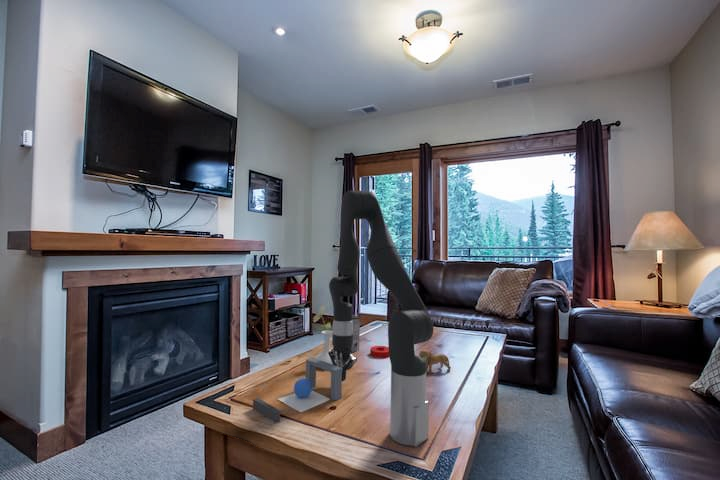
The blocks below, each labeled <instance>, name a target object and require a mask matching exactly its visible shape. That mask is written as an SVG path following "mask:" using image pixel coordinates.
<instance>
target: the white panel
mask: <svg viewBox="0 0 720 480" xmlns="http://www.w3.org/2000/svg"><path fill="white" fill-rule="evenodd" d="M330 400H331V398H329V397H326V396H324V395H322V394H321V393H319V392H316V391H314V390H312V391H311V393H310V395H309V396H307V397H305V398H300V397H298V396H297V395H296V394H295V392H293V393H290V394H288V395H285V396H282V397H279V398H277V401H279V402H281V403H282V402H283V403H282V404H284V405H286V406H288V407H290V408H291V409H293V410H295V411H297V412H299V413H303V412H305V411H308V410H310V409H313V408H315V407H317V406H320V405H322V404H325V403H326V402H328V401H330Z"/></svg>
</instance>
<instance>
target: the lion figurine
mask: <svg viewBox="0 0 720 480" xmlns="http://www.w3.org/2000/svg"><path fill="white" fill-rule="evenodd" d="M418 356H419V357H422V358H423V359H424V360H425V361H426V372H428V373H429V374H431V373H432V369H433V368H432V367H433V365H438V364H440V367H437V370H442V368H443V367H444V366H445V367H446V368H447V369H446V372H448V373H450V372H451V369H452V367H451V366H450V361H449V360H450V359H449V358H448V356H447V355H446V354H443V353H440V354H433V353H432V352H430V351H428V350H427V349H421V350H420V351H419V353H418Z"/></svg>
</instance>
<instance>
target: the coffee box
mask: <svg viewBox="0 0 720 480" xmlns="http://www.w3.org/2000/svg"><path fill="white" fill-rule="evenodd" d="M360 332H361V317H359V316H357V315H355V314H353V345H352V347H351V349H352V353H354V352H359V351H360V336H361V335H360Z"/></svg>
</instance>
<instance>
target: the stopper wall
mask: <svg viewBox="0 0 720 480" xmlns="http://www.w3.org/2000/svg"><path fill="white" fill-rule="evenodd" d="M252 409H253V410H254V409H255V410H256V411H255V410H254V411H255V412H257V413H258V412H259V413H258V414H259V415H261V414H262V415H261V416H263V415H264V416H263V417H265V418H266V417H267V418H266V419H268V418H269V419H270V420H269V419H268V420H269V421H271V420H272V421H273V422H272V421H271V422H272V423H274V422H275V423H274V424H277V423H276V422H278V423H280V422H281V410H280V409H278V408H277V407H276V406H275V407H274V405H271V404H270V403H268V402H267V401H265V400H263V399H261V398H259V397H255V398H253V400H252ZM279 421H280V422H279Z"/></svg>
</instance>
